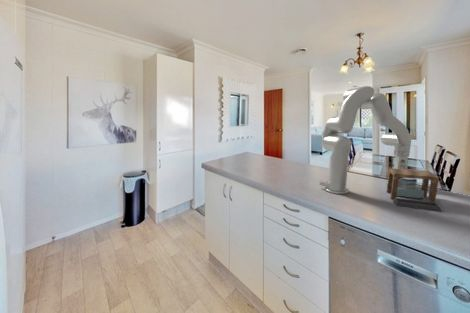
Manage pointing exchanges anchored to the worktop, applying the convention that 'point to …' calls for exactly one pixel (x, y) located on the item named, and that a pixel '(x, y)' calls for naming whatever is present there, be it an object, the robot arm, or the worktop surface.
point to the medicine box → (407, 183)
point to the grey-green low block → (410, 192)
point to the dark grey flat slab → (417, 204)
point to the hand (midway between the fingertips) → (397, 182)
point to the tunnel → (418, 174)
